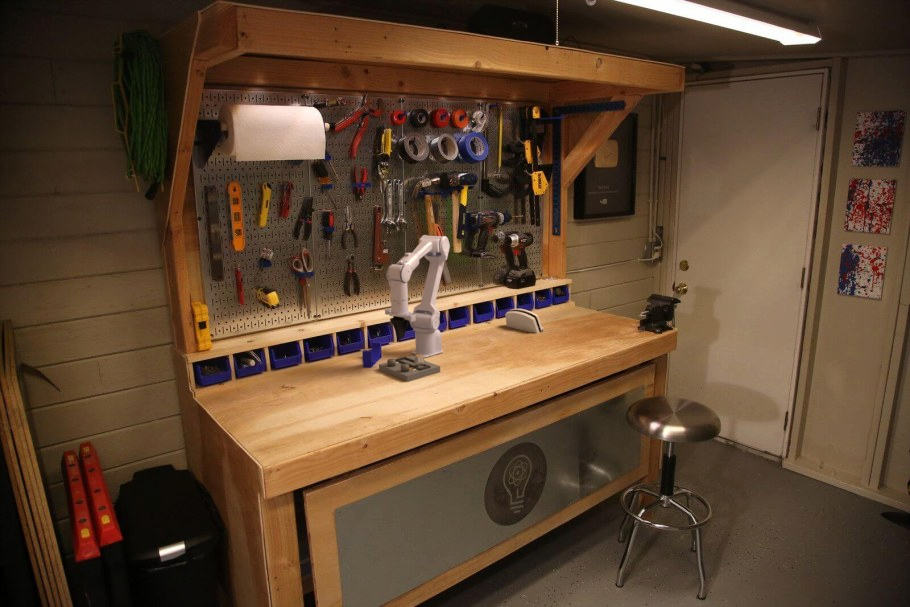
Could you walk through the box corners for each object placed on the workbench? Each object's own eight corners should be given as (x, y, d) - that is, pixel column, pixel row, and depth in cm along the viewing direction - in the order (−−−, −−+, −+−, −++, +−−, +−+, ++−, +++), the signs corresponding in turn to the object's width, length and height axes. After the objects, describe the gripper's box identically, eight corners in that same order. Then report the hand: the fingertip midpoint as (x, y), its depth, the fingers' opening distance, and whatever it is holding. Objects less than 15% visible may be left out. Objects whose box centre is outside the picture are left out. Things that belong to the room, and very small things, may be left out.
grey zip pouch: (545, 330, 255) (540, 310, 251) (538, 336, 252) (534, 316, 248) (513, 324, 266) (508, 304, 262) (507, 329, 264) (502, 309, 259)
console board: (411, 360, 219) (410, 350, 218) (440, 371, 207) (440, 360, 206) (379, 369, 210) (378, 358, 209) (407, 381, 198) (407, 370, 197)
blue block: (370, 357, 224) (369, 341, 223) (381, 357, 224) (381, 341, 222) (359, 367, 213) (358, 351, 212) (371, 368, 212) (370, 351, 211)
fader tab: (420, 364, 208) (420, 353, 207) (424, 366, 206) (423, 354, 206) (414, 366, 206) (414, 355, 205) (418, 368, 205) (417, 356, 204)
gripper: (377, 298, 210) (378, 336, 213) (403, 304, 200) (404, 344, 203) (393, 294, 215) (394, 332, 218) (420, 301, 204) (421, 340, 207)
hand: (400, 337), depth 211 cm, fingers closed
